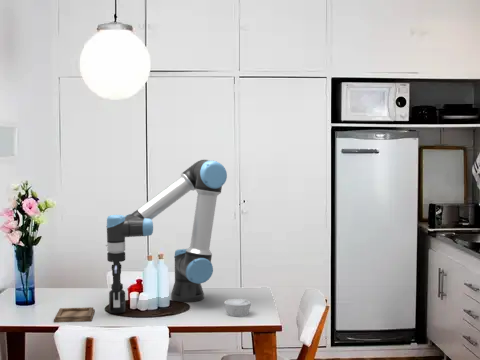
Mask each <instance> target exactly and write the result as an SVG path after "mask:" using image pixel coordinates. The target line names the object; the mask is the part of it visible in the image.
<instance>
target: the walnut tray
mask: <svg viewBox="0 0 480 360" xmlns="http://www.w3.org/2000/svg"><path fill="white" fill-rule="evenodd" d="M95 311H96V309H94V307H93V306H92V307H89V306H88V307H60V308H59V309H58V311H57V312H56V314H55V317H54V319H53V323H75V322H76V323H78V322H92V321H93V319H94V316H95Z"/></svg>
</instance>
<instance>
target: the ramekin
mask: <svg viewBox="0 0 480 360" xmlns="http://www.w3.org/2000/svg"><path fill="white" fill-rule="evenodd" d="M251 303H252V302H251V301H250V300H249V299H244V298H230V299H229V298H228V299H227V300H225V301H224V308H225V313H226V314H227V315H228V316H230V317H245V316H247V315H248V314H249V313H250V306H251V305H252V304H251Z"/></svg>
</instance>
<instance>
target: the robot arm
mask: <svg viewBox="0 0 480 360" xmlns="http://www.w3.org/2000/svg"><path fill="white" fill-rule="evenodd" d="M227 173H228V172H227V170H226V168H225V167H224V165H223V164H222V163H220V162H218V161H216V160H209V159H200V160H198V161H196V162H194V163H193V164H191V166H189V167H188V168H186V169H185V170H184V171H183V172H181V174H180V176H179V177H178V178H177V179H176V180H175V181H173V182H172V183H171V184H169V185H168V186H166V187H165V188H164V189H163V190H161V191H160V192H158V193H157V194H156V195H155V196H153V197H152V198H150V199H149V200H148V201H147V202H145V203H144V204H143V205H141V206H140V207H139V208H138V209H135V211H133V212H131V213H128V214H126V215H123V214H113V215H112V214H111V215H108V216H107V218H106V241H107V242H106V244H105V247H107V256H106V257H107V262H110V263H113V264H112V265H111V271H112V272H111V275H112V284H113V291H112V293H113V308H115V307H120V292H119V291H120V290H119V283H121V274H122V264H121V262H124V261H126V238H134V237H136V238H137V237H148V236H152V235H153V233H154V223H153V219H154V218H156V217H157V216H158V215H160V214H161V213H162V212H164V211H165V210H166V209H168V208H169V207H170V206H172V205H173V204H175V203H176V202H178V200H179V199H181V198H182V197H184V196H185V195H186V194H187V193H189V192H190V191H196V192H197V197H196V203H195V210H194V216H193V224H192V229H191V230H192V231H191V238H190V244H189V247H188V248H182V249H179V248H178V249H176V250H175V252H174V255H173V256H174V283H173V287H172V290H171V293H170V299H171V300H172V301H174V302H178V303H179V302H180V303H181V302H182V303H193V302H197V301H198V302H199V301H201V300H204V298H205V292H204V289H203V286H202V284H204V283H206V282H207V281H208V280H210V278H211V277H212V276H213V272H214V268H213V267H214V266H213V264H212V256H213V252H212V251H211V250H210V246H211V241H212V240H211V239H212V231H213V226H214V220H215V212H216V207H217V199H218V196H219V195H220V194H221V193H222V190H223V189H222V187H223V186H224V185H225V183H226V181H227V178H228V174H227ZM121 284H122V283H121Z"/></svg>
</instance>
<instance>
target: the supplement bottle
mask: <svg viewBox="0 0 480 360" xmlns="http://www.w3.org/2000/svg"><path fill="white" fill-rule="evenodd" d="M123 285H124V284H123V283H119V290H120V291H119V292H120V307H115V308H113V293H112V291H113V283H111V285H110V286H111V290H110V291H108V309H109V310H108V311H109V313H110V314H123V313H125V312H126V292H125V290H124V289H123V288H124V286H123Z"/></svg>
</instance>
